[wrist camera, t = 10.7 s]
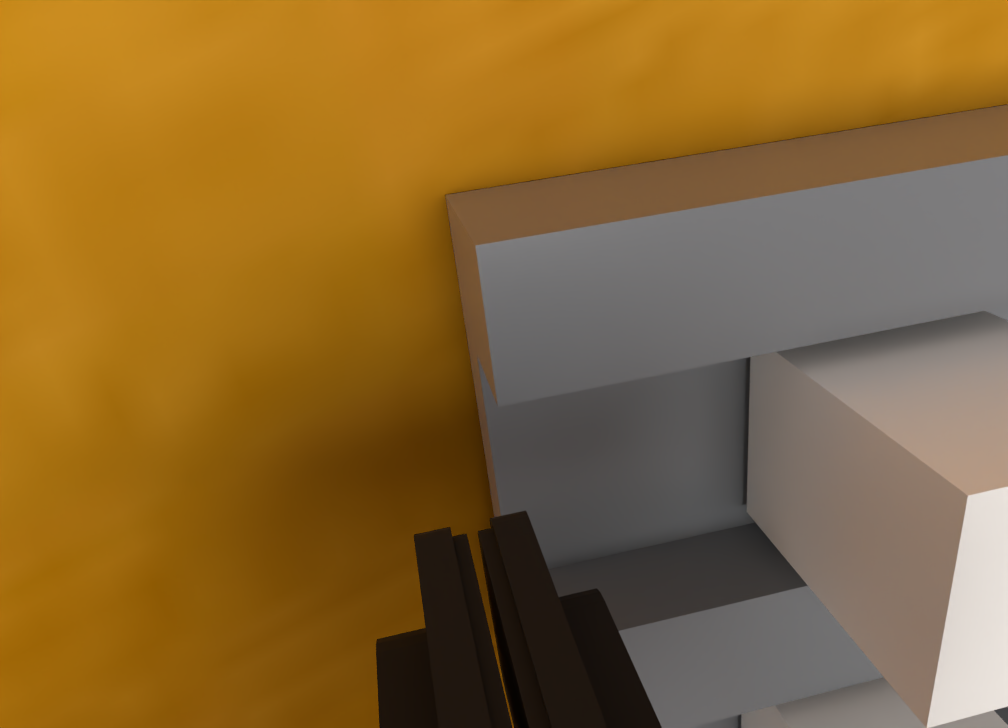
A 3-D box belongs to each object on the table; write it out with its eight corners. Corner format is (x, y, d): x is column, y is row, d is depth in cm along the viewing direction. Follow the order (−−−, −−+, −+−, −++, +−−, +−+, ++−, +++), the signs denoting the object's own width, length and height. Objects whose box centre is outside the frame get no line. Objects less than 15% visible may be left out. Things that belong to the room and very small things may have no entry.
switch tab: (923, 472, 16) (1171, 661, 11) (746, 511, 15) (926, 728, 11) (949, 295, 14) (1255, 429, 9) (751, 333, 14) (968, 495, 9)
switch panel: (1153, 813, 27) (1270, 926, 24) (566, 987, 24) (601, 1144, 21) (1460, 32, 16) (1766, 31, 12) (444, 195, 13) (479, 251, 10)
